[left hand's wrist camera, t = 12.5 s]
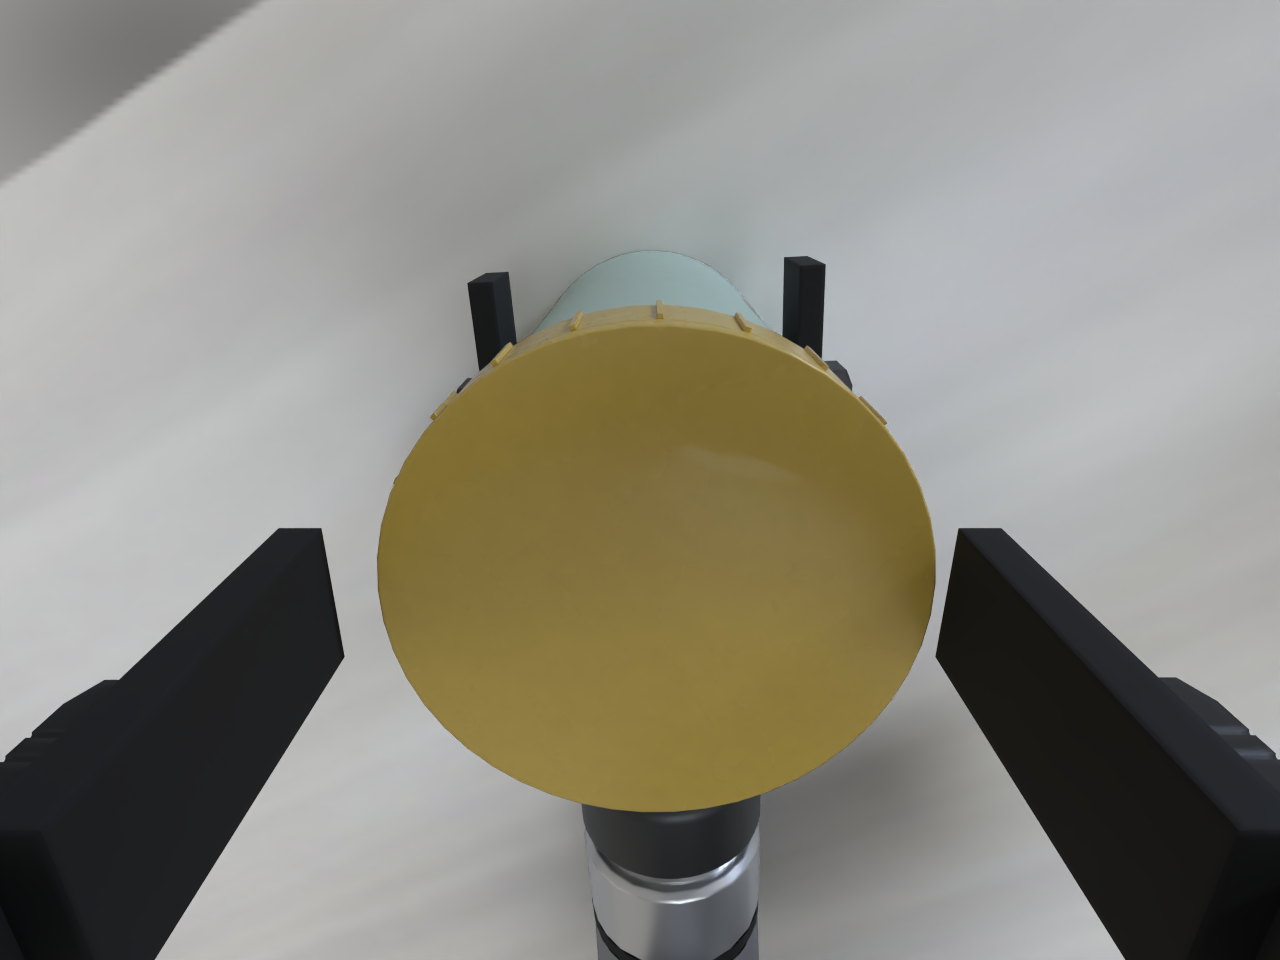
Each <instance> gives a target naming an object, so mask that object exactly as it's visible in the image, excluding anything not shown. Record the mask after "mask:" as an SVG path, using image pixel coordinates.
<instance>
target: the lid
mask: <svg viewBox="0 0 1280 960" xmlns="http://www.w3.org/2000/svg"><path fill="white" fill-rule="evenodd" d="M828 367H829V366H828V365H827V364H826V363H825V362H824V361H823V360H822V359H821V358H820V357H819V356H818V355H817V354H816V353H815V352H814V351H813V350H812V349H811V348H810V347H808V346H806V347H805V348H804V349H803V348H802V347H800V346H798V345H796V344H795V343H793V342H791V341H789V340H788V339H786V338H784V337H783V336H781V335H779V334H777V333H776V332H774V331H772V330H769V329H767V328H764V327H762V326H759V325H757V324H754V323H752V322H749V321H747V320H746V319H745V318H744V317H743V315H742V314H741V313H738V312H736V313H735V316H731V315H727V314H723V313H719V312H716V311H712V310H708V309H702V308H693V307H684V306H676V305H663V303H662V300H656V305H632V306H625V307H619V308H612V309H606V310H599V311H595V312H591V313H588V314H584V315H583V311H582V310H581V311H577V312H576V314H575V316H574V317H573V318H571V319H567V320H564V321H561V322H559V323H557V324H554V325H552V326H550V327H548V328H546V329H543V330H541V331H539V332H537V333H534V334H532V335H530V336H528V337H527V338H525V339H524V340H522V341H520V342H519V343H517V344H516V345H514V346H513V345H512V344H511V342H509V343H508V344H506V345H505V346H504V348H503V349H502V350H501V351H500V352H499V353H498V354H497V355H496V357H495V358H494V359H493V360H492V361H491V362H490V363H489V364H488V365H487V366H486V367H484V368H483V369H482V370H481V371H480V372H478V373H477V374H476V375H475V376H474V377H473V378H472V379H471V380H470V381H469V382H468V384H467V385H466V386H465V387H464V388H463V389H462V390H461V391H460V392H459V393H458V394H457V393H456V392H455V391H454V392H453V393H452V394H451V395H450V396H449V397H448V398H447V399H446V400H445V402H444V403H443V404H442V405H441V406H440V407H439V408H438V409H437V410H436V411H435V412H434V413H433V414H432V416H431V417H430V418H431V419H433V420H434V421H433V422H432V423H431V425H430V426H429V427H428V428H427V429H426V430H425V431H424V433H423V434H422V436H421V437H420V439H419V440H418V442H417V443H416V445H415V446H414V448H413V450H412V451H411V453H410V454H409V456H408V457H407V459H406V460H405V462H404V464H403V466H402V468H401V471H400V473H399V475H398V476H397V477H396V478H395V480H394V486H393V488H392V490H391V492H390V496H389V499H388V503H387V506H386V510H385V513H384V517H383V520H382V524H381V530H380V538H379V546H378V554H377V572H378V593H379V598H380V604H381V610H382V615H383V621H384V624H385V627H386V630H387V633H388V636H389V639H390V642H391V645H392V648H393V651H394V653H395V655H396V657H397V659H398V661H399V663H400V665H401V667H402V670H403V672H404V674H405V676H406V678H407V679H408V681H409V682H410V684H411V685H412V687H413V688H414V690H415V691H416V693H417V694H418V696H419V697H420V699H421V700H422V702H423V703H424V705H425V706H426V707H427V708H428V709H429V710H430V712H431V713H432V714H433V715H434V716H435V717H436V718H437V720H438V721H439V722H440V723H441V724H442V725H443V726H444V728H445V729H447V730H448V731H449V732H450V733H451V734H452V735H453V736H454V737H455V738H457V739H458V740H459V741H460V742H461V743H462V744H463V745H464V746H465V747H467V748H468V749H469V750H470V751H472V752H473V753H475V754H476V755H478V756H479V757H480V758H482V759H483V760H485V761H486V762H487V763H489V764H490V765H492V766H493V767H495V768H497V769H498V770H500V771H502V772H504V773H506V774H507V775H509V776H511V777H513V778H515V779H517V780H518V781H520V782H522V783H525V784H527V785H530V786H532V787H534V788H537V789H539V790H541V791H544V792H546V793H549V794H551V795H555V796H558V797H561V798H565V799H568V800H571V801H575V802H578V803H582V804H587V805H592V806H597V807H603V808H608V809H615V810H626V811H637V812H677V811H686V810H696V809H705V808H710V807H715V806H720V805H724V804H729V803H734V802H738V801H741V800H744V799H747V798H751V797H754V796H757V795H760V794H763V793H766V792H769V791H771V790H773V789H776V788H778V787H780V786H782V785H785V784H787V783H789V782H791V781H794V780H796V779H798V778H799V777H801V776H803V775H805V774H806V773H808V772H810V771H812V770H813V769H815V768H817V767H819V766H820V765H822V764H824V763H825V762H826V761H828V760H829V759H830V758H832V757H833V756H835V755H836V754H837V753H839V752H840V751H841V750H843V749H844V748H845V747H847V746H848V745H849V744H850V743H851V742H853V741H854V740H855V739H856V738H857V737H858V736H859V735H860V734H861V733H862V732H863V731H864V730H865V729H866V728H868V727H869V726H870V725H871V724H872V723H873V721H874V720H875V719H876V718H877V717H878V715H879V714H880V713H881V712H882V711H883V709H884V708H885V707H886V706H887V705H888V704H889V702H890V701H891V700H892V698H893V697H894V695H895V694H896V692H897V691H898V689H899V687H900V686H901V684H902V683H903V681H904V680H905V678H906V677H907V675H908V673H909V671H910V669H911V667H912V665H913V663H914V660H915V658H916V656H917V654H918V652H919V650H920V647H921V645H922V642H923V639H924V635H925V632H926V629H927V626H928V622H929V619H930V616H931V610H932V603H933V596H934V589H935V544H934V538H933V532H932V525H931V519H930V515H929V512H928V509H927V506H926V502H925V499H924V496H923V493H922V490H921V487H920V484H919V482H918V480H917V478H916V476H915V474H914V472H913V470H912V468H911V466H910V464H909V462H908V460H907V458H906V456H905V454H904V453H903V451H902V450H901V448H900V447H899V446H898V444H897V443H896V441H895V440H894V438H893V437H892V436H891V434H890V433H889V431H888V430H887V429H886V427H885V426H884V425H885V424H887V422H886V421H885V419H884V418H883V417H882V416H881V415H880V414H879V413H878V412H877V411H876V410H875V409H874V408H873V407H872V406H871V405H870V404H869V403H868V402H867V401H866V400H865V399H864V398H863V397H862V396H860V397H859V398H858V397H857V396H856V395H855V394H854V393H853V392H852V391H851V390H850V389H849V388H848V387H847V386H846V385H845V384H844V383H843V382H842V381H841V380H840V379H839V378H838V377H837V376H836V375H835V374H834V373H833V372H832V371H831V370H830V369H829V368H828Z"/></svg>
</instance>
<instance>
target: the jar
mask: <svg viewBox="0 0 1280 960" xmlns="http://www.w3.org/2000/svg"><path fill="white" fill-rule="evenodd" d="M656 300H662V303H663V305H676V306H684V307H693V308H702V309H708V310H712V311H716V312H719V313H723V314H727V315H731V316H735V313H736V312H738V313H741V314H742V315H743V317H744V318H745V319H746V320H747V321H749V322H752V323H754V324H757V325H759V326H762V327H764V328H767V329H769V328H768V326H767V325H766V324H765V323H764V322H763V320H762V319H761V318H760V317H759V316H758V315H757V313H756V312H755V311H754V310H753V309H752V307H751V306H750V305H749V304H748V303H747V301H746V300H745V299H744V298H743V297H742V295H741V294H740V293H739V292H738V291H737V290H736V289H735V288H734V286H733V285H732V284H731V283H730V282H729V281H728V280H727V279H726V278H724V277H723V276H722V275H720V274H719V273H718V272H717V271H715V270H714V269H712V268H710V267H709V266H707V265H705V264H704V263H702V262H700V261H697V260H695V259H692V258H690V257H687V256H684V255H680V254H676V253H672V252H663V251H640V252H633V253H627V254H624V255H620V256H617V257H614V258H611V259H609V260H607V261H604V262H602V263H600V264H598V265H596V266H595V267H593V268H592V269H590V270H589V271H587V272H585V273H584V274H583V275H582V276H581V277H580V278H578V279H577V280H576V281H575V282H574V283H573V284H572V285H571V286H570V287H569V288H568V289H567V291H566V292H565V293H564V294H563V295H562V297H561V298H560V299H559V300H558V302H557V303H556V304H555V305H554V307H553V308H552V309H551V311H550V312H549V313H548V314H547V316H546V317H545V318H544V320H543V321H542V322H541V323H540V325H539V326H538V327H537V329H536V330H535V331H534V332H533V334H534V333H537V332H539V331H541V330H543V329H546V328H548V327H550V326H552V325H554V324H557V323H559V322H561V321H564V320H567V319H571V318H573V317H574V316H575V314H576V312H577V311H581V310H582V311H583V315H584V314H588V313H591V312H595V311H599V310H606V309H612V308H619V307H625V306H632V305H656ZM769 330H770V329H769Z"/></svg>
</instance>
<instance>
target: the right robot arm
mask: <svg viewBox="0 0 1280 960" xmlns="http://www.w3.org/2000/svg"><path fill="white" fill-rule="evenodd" d="M825 267H826V264H824V263H821V262H819V261H817V260H815V259H812V258H810V257H808V256H800V257H784V292H783V337H784V338H786V339H788V340H789V341H791V342H793V343H795V344H796V345H798V346H800V347H802V348H803V349H804V348H805V347H806V346H808V347H810V348H811V349H812V350H813V351H814V352H815V353H816V354H817V355H818V356H819V357H820V358H821V359H822V339H823V315H824V291H825ZM467 284H468V291H469V298H470V306H471V313H472V320H473V327H474V335H475V342H476V349H477V357H478V364H479V371H481V370H482V369H483V368H484V367H486V366H487V365H488V364H489V363H490V362H491V361H492V360H493V359H494V358H495V357H496V355H497V354H498V353H499V352H500V351H501V350H502V349H503V348H504V346H505V345H506V344H508V343H509V342H511V344H512V345H513V346H514V345H516V344H517V342H516V333H515V324H514V316H513V307H512V298H511V290H510V281H509V272H498V273H485V274H484V275H482V276H480V277H478V278H476V279H474V280H473V281H471V282H469V283H467ZM824 362H825V363H826V364H827V365H828V366H829V367H828V368H829V369H830V370H831V371H832V372H833V373H834V374H835V375H836V376H837V377H838V378H839V379H840V380H841V381H842V382H843V383H844V384H845V385H846V386H847V387H848V388H849V389H850V390H851V391H852V383H851V381H850V378H849V375H848V372H847V370H846V369H845V368H844V367H843V366H842V365H840V364H839V363H838V362H837V361H824ZM471 379H472V378H467V379H466V380H465V381H464V383H463V384H462V385H461V386H460V387H459V388H458V389H457V394H458V393H459V392H460V391H461V390H462V389H463V388H464V387H465V386H466V385H467V384H468V382H469V381H470V380H471ZM582 811H583V819H584V824H585V841H586V849H587V857H588V866H589V874H590V882H591V890H592V901H593V907H594V914H595V919H596V933H597V948H598V960H759V956H758V922H757V912H758V895H759V877H760V826H759V816H760V795H757V796H754V797H751V798H747V799H744V800H741V801H738V802H734V803H729V804H724V805H720V806H715V807H710V808H705V809H696V810H686V811H677V812H637V811H626V810H615V809H608V808H603V807H597V806H592V805H587V804H582Z"/></svg>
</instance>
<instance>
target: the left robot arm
mask: <svg viewBox="0 0 1280 960" xmlns="http://www.w3.org/2000/svg"><path fill="white" fill-rule="evenodd" d="M343 658H344V651H343V646H342V640H341V635H340V629H339V623H338V618H337V612H336V607H335V601H334V596H333V590H332V585H331V579H330V573H329V568H328V562H327V557H326V551H325V546H324V540H323V535H322V529H321V528H279V529H278V530H276V531H275V532H274V533H273V534H272V535H271V536H270V537H269V538H268V539H267V540H266V541H265V542H264V543H263V544H262V545H261V546H260V547H259V548H258V549H256V550H255V551H254V552H253V553H252V554H251V555H250V556H249V557H248V558H247V559H246V560H245V561H244V562H243V563H242V564H241V565H240V566H239V567H237V568H236V569H235V570H234V571H233V572H232V573H231V574H230V575H229V576H228V577H227V578H226V579H225V580H224V581H223V582H222V583H221V584H220V585H219V586H217V587H216V588H215V589H214V590H213V591H212V592H211V593H210V594H209V595H208V596H207V597H206V598H205V599H204V600H203V601H202V602H201V603H200V604H199V605H197V606H196V607H195V608H194V609H193V610H192V611H191V612H190V613H189V614H188V615H187V616H186V617H185V618H184V619H183V620H182V621H181V622H180V623H179V624H177V625H176V626H175V627H174V628H173V629H172V630H171V631H170V632H169V633H168V634H167V635H166V636H165V637H164V638H163V639H162V640H161V641H160V642H159V643H157V644H156V645H155V646H154V647H153V648H152V649H151V650H150V651H149V652H148V653H147V654H146V655H145V656H144V657H143V658H142V659H141V660H140V661H139V662H137V663H136V664H135V665H134V666H133V667H132V668H131V669H130V670H129V671H128V672H127V673H126V674H125V675H124V676H123V677H122V678H121V679H120V680H104V681H102V682H100V683H99V684H97V685H95V686H93V687H92V688H90V689H88V690H87V691H85V692H83V693H81V694H80V695H78V696H76V697H75V698H73V699H71V700H69V701H68V702H66V703H64V704H63V705H62V706H61V707H59V708H58V709H57V710H56V711H55V712H54V713H53V714H52V715H51V716H49V717H48V718H47V719H46V720H45V721H44V722H43V723H42V724H41V725H39V726H38V727H37V728H36V729H35V730H34V731H33V732H32V736H31V738H25V739H24V740H23V741H22V742H21V743H19V744H18V745H17V746H16V747H15V748H14V749H13V750H12V751H11V752H9V753H8V754H7V755H6V756H5V757H6V759H5V761H4V762H0V960H155V958H156V957H157V955H158V954H159V952H160V950H161V949H162V947H163V946H164V944H165V942H166V941H167V939H168V938H169V936H170V934H171V933H172V931H173V930H174V928H175V926H176V925H177V923H178V922H179V920H180V918H181V917H182V915H183V914H184V912H185V910H186V909H187V907H188V906H189V904H190V903H191V901H192V899H193V898H194V896H195V895H196V893H197V891H198V890H199V888H200V887H201V885H202V883H203V882H204V880H205V879H206V877H207V875H208V874H209V872H210V871H211V869H212V867H213V866H214V864H215V863H216V861H217V859H218V858H219V856H220V855H221V853H222V851H223V850H224V848H225V847H226V845H227V843H228V842H229V840H230V839H231V837H232V836H233V834H234V832H235V831H236V829H237V828H238V826H239V824H240V823H241V821H242V820H243V818H244V816H245V815H246V813H247V812H248V810H249V808H250V807H251V805H252V804H253V802H254V800H255V799H256V797H257V796H258V794H259V792H260V791H261V789H262V788H263V786H264V784H265V783H266V781H267V780H268V778H269V776H270V775H271V773H272V772H273V770H274V768H275V767H276V765H277V764H278V762H279V761H280V759H281V757H282V756H283V754H284V753H285V751H286V749H287V748H288V746H289V745H290V743H291V741H292V740H293V738H294V737H295V735H296V733H297V732H298V730H299V729H300V727H301V725H302V724H303V722H304V721H305V719H306V717H307V716H308V714H309V713H310V711H311V709H312V708H313V706H314V705H315V703H316V701H317V700H318V698H319V697H320V695H321V693H322V692H323V690H324V689H325V687H326V686H327V684H328V682H329V681H330V679H331V678H332V676H333V674H334V673H335V671H336V670H337V668H338V666H339V665H340V663H341V662H342V660H343ZM936 658H937V660H938V662H939V663H940V665H941V666H942V668H943V670H944V671H945V673H946V674H947V676H948V678H949V679H950V681H951V682H952V684H953V686H954V687H955V689H956V690H957V692H958V694H959V695H960V697H961V698H962V700H963V701H964V703H965V705H966V706H967V708H968V709H969V711H970V713H971V714H972V716H973V717H974V719H975V721H976V722H977V724H978V725H979V727H980V729H981V730H982V732H983V733H984V735H985V737H986V738H987V740H988V741H989V743H990V745H991V746H992V748H993V749H994V751H995V753H996V754H997V756H998V757H999V759H1000V761H1001V762H1002V764H1003V765H1004V767H1005V768H1006V770H1007V772H1008V773H1009V775H1010V776H1011V778H1012V780H1013V781H1014V783H1015V784H1016V786H1017V788H1018V789H1019V791H1020V792H1021V794H1022V796H1023V797H1024V799H1025V800H1026V802H1027V804H1028V805H1029V807H1030V808H1031V810H1032V812H1033V813H1034V815H1035V816H1036V818H1037V820H1038V821H1039V823H1040V824H1041V826H1042V828H1043V829H1044V831H1045V832H1046V834H1047V836H1048V837H1049V839H1050V840H1051V842H1052V843H1053V845H1054V847H1055V848H1056V850H1057V851H1058V853H1059V855H1060V856H1061V858H1062V859H1063V861H1064V863H1065V864H1066V866H1067V867H1068V869H1069V871H1070V872H1071V874H1072V875H1073V877H1074V879H1075V880H1076V882H1077V883H1078V885H1079V887H1080V888H1081V890H1082V891H1083V893H1084V895H1085V896H1086V898H1087V899H1088V901H1089V903H1090V904H1091V906H1092V907H1093V909H1094V910H1095V912H1096V914H1097V915H1098V917H1099V918H1100V920H1101V922H1102V923H1103V925H1104V926H1105V928H1106V930H1107V931H1108V933H1109V934H1110V936H1111V938H1112V939H1113V941H1114V942H1115V944H1116V946H1117V947H1118V949H1119V950H1120V952H1121V954H1122V955H1123V957H1124V958H1125V960H1280V760H1277V758H1276V756H1275V755H1276V753H1275V752H1274V751H1272V750H1271V749H1270V748H1269V747H1268V746H1267V745H1266V744H1265V743H1263V742H1262V741H1261V740H1260V739H1259V738H1258V737H1257V736H1256V735H1250V734H1249V729H1248V728H1247V727H1246V726H1244V725H1243V724H1242V723H1241V722H1240V721H1239V720H1238V719H1237V718H1235V717H1234V716H1233V715H1232V714H1231V713H1230V712H1229V711H1228V710H1227V709H1225V708H1224V707H1223V706H1222V705H1221V704H1220V703H1219V702H1218V701H1216V700H1214V699H1212V698H1211V697H1209V696H1207V695H1205V694H1204V693H1202V692H1200V691H1199V690H1197V689H1195V688H1193V687H1192V686H1190V685H1188V684H1186V683H1185V682H1183V681H1181V680H1180V679H1178V678H1158V677H1157V676H1156V675H1155V674H1154V673H1153V672H1152V671H1151V670H1150V669H1149V668H1148V667H1147V666H1146V665H1145V664H1144V663H1143V662H1141V661H1140V660H1139V659H1138V658H1137V657H1136V656H1135V655H1134V654H1133V653H1132V652H1131V651H1130V650H1129V649H1128V648H1127V647H1126V646H1125V645H1124V644H1123V643H1121V642H1120V641H1119V640H1118V639H1117V638H1116V637H1115V636H1114V635H1113V634H1112V633H1111V632H1110V631H1109V630H1108V629H1107V628H1106V627H1105V626H1104V625H1103V624H1101V623H1100V622H1099V621H1098V620H1097V619H1096V618H1095V617H1094V616H1093V615H1092V614H1091V613H1090V612H1089V611H1088V610H1087V609H1086V608H1085V607H1084V606H1083V605H1081V604H1080V603H1079V602H1078V601H1077V600H1076V599H1075V598H1074V597H1073V596H1072V595H1071V594H1070V593H1069V592H1068V591H1067V590H1066V589H1065V588H1064V587H1063V586H1061V585H1060V584H1059V583H1058V582H1057V581H1056V580H1055V579H1054V578H1053V577H1052V576H1051V575H1050V574H1049V573H1048V572H1047V571H1046V570H1045V569H1044V568H1042V567H1041V566H1040V565H1039V564H1038V563H1037V562H1036V561H1035V560H1034V559H1033V558H1032V557H1031V556H1030V555H1029V554H1028V553H1027V552H1026V551H1025V550H1024V549H1022V548H1021V547H1020V546H1019V545H1018V544H1017V543H1016V542H1015V541H1014V540H1013V539H1012V538H1011V537H1010V536H1009V535H1008V534H1007V533H1006V532H1005V531H1004V530H1002V529H1001V528H959V529H958V535H957V540H956V546H955V551H954V557H953V562H952V568H951V573H950V579H949V585H948V590H947V596H946V601H945V607H944V612H943V618H942V623H941V629H940V634H939V640H938V646H937V651H936Z"/></svg>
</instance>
